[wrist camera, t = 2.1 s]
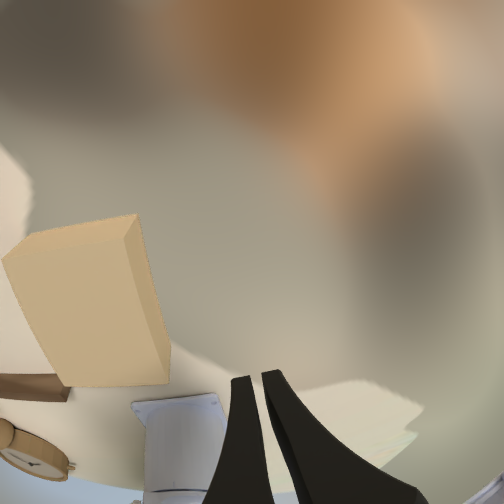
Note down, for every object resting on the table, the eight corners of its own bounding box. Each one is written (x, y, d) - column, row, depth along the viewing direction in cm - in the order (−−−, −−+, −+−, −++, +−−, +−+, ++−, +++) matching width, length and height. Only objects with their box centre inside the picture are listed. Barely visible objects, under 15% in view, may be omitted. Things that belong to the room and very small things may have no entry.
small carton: (171, 343, 21) (168, 383, 17) (77, 350, 20) (64, 386, 16) (138, 212, 17) (123, 238, 13) (31, 233, 16) (1, 259, 12)
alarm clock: (55, 485, 26) (-31, 449, 18) (55, 459, 30) (-27, 422, 22) (81, 476, 24) (-26, 433, 16) (80, 444, 28) (-19, 399, 20)
